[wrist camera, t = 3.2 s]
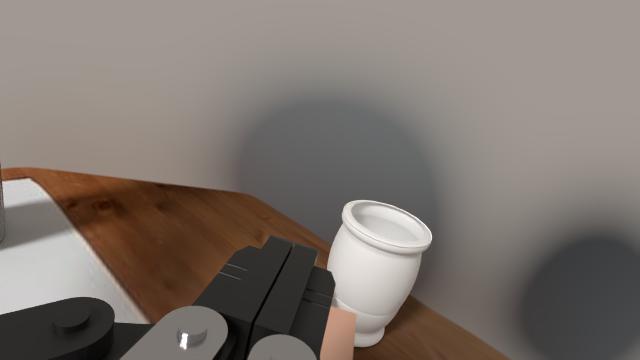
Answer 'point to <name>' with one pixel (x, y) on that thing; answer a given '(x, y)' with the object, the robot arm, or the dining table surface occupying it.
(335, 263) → the jar
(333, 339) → the salmon pink rectangular block
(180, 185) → the dining table surface
